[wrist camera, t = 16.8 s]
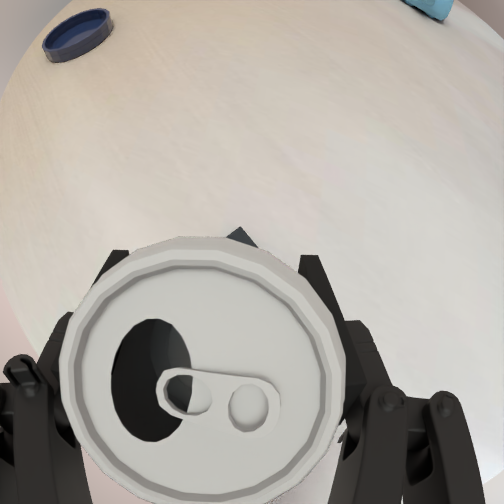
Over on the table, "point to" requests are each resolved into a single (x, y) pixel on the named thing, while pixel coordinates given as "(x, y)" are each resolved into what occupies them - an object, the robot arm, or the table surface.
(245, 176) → the table surface
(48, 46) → the dish
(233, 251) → the can
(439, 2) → the teapot
